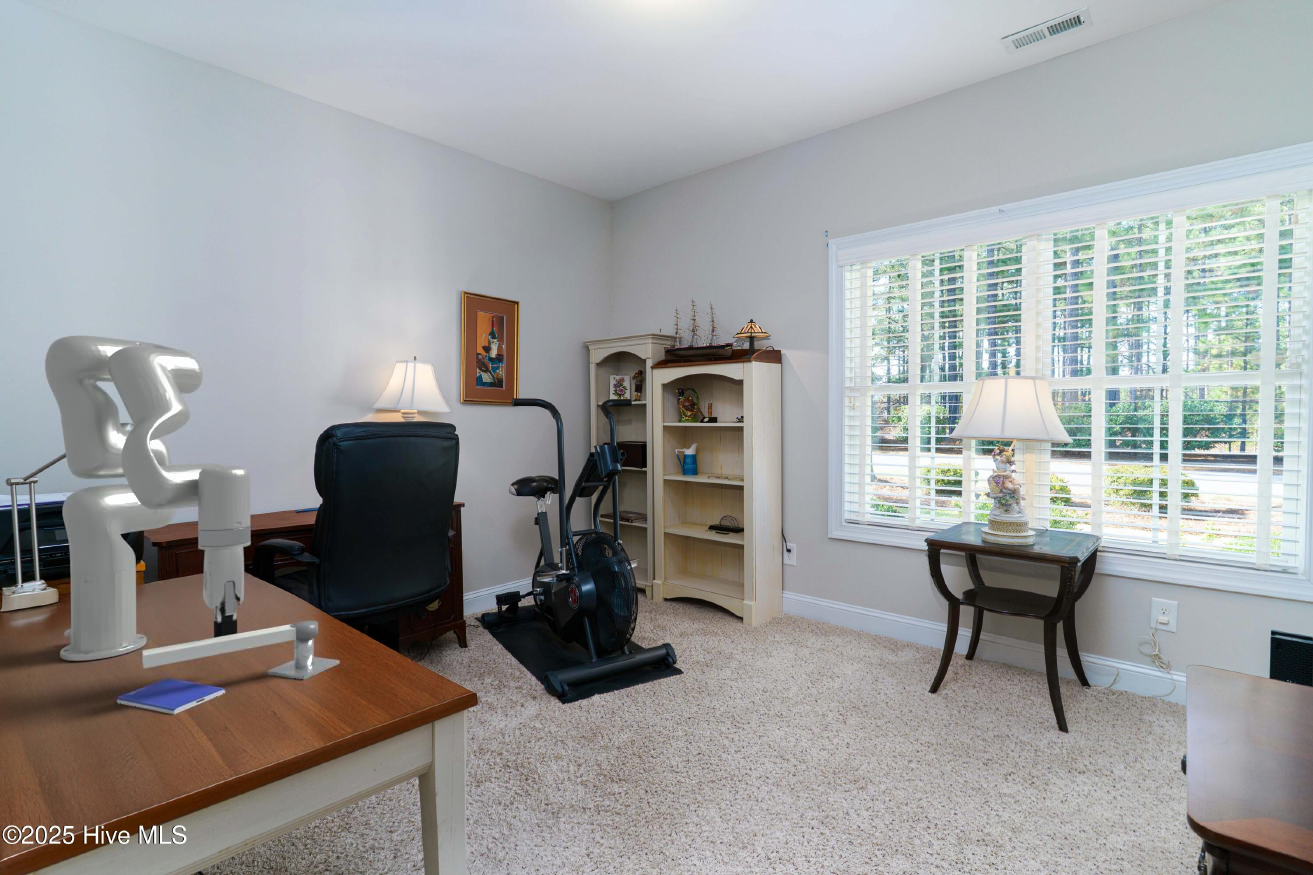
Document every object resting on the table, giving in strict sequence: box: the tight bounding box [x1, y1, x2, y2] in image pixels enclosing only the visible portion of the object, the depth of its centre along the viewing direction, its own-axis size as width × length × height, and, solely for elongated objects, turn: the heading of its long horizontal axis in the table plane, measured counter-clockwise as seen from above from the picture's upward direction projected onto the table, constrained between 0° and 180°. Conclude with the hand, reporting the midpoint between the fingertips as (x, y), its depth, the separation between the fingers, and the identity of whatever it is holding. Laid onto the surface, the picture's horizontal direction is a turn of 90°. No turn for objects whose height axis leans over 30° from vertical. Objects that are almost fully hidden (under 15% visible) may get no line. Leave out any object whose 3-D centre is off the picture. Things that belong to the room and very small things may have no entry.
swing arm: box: [141, 620, 319, 669], centre depth 108 cm, size 25×4×2 cm, turn 131°
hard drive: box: [116, 678, 226, 715], centre depth 103 cm, size 2×8×12 cm
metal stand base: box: [266, 636, 340, 681], centre depth 115 cm, size 8×8×6 cm
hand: (225, 642), depth 112 cm, fingers closed
